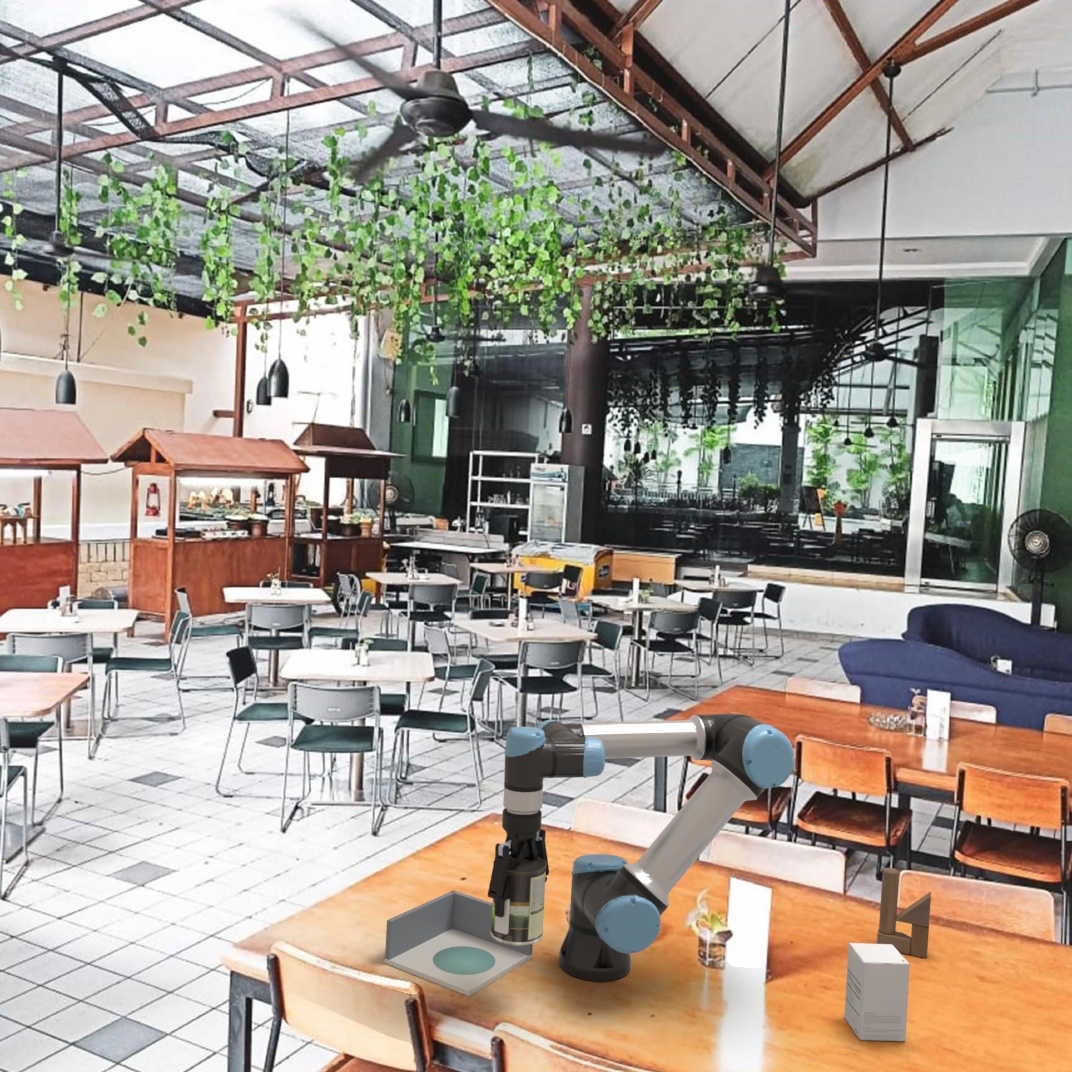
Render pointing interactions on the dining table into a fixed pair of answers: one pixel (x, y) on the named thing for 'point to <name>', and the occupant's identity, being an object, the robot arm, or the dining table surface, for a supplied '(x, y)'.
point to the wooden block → (903, 918)
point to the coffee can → (524, 904)
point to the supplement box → (877, 992)
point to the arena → (451, 944)
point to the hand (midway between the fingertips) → (517, 923)
